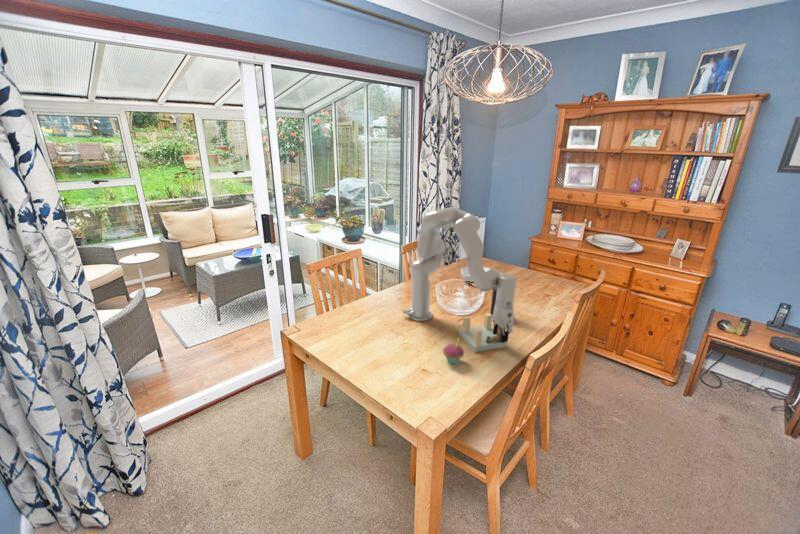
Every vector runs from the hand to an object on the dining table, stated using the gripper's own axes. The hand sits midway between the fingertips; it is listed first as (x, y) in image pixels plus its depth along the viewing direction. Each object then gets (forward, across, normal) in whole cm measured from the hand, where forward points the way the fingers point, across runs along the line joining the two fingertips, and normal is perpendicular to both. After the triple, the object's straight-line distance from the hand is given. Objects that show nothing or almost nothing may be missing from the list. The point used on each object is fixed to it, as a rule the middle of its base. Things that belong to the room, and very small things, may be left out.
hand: (500, 337), depth 159 cm
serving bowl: (+4, +72, -26) cm, 77 cm away
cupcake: (+4, -6, +26) cm, 27 cm away
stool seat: (+4, +6, +6) cm, 9 cm away
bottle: (+4, +26, -14) cm, 30 cm away
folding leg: (+1, 0, +3) cm, 3 cm away
